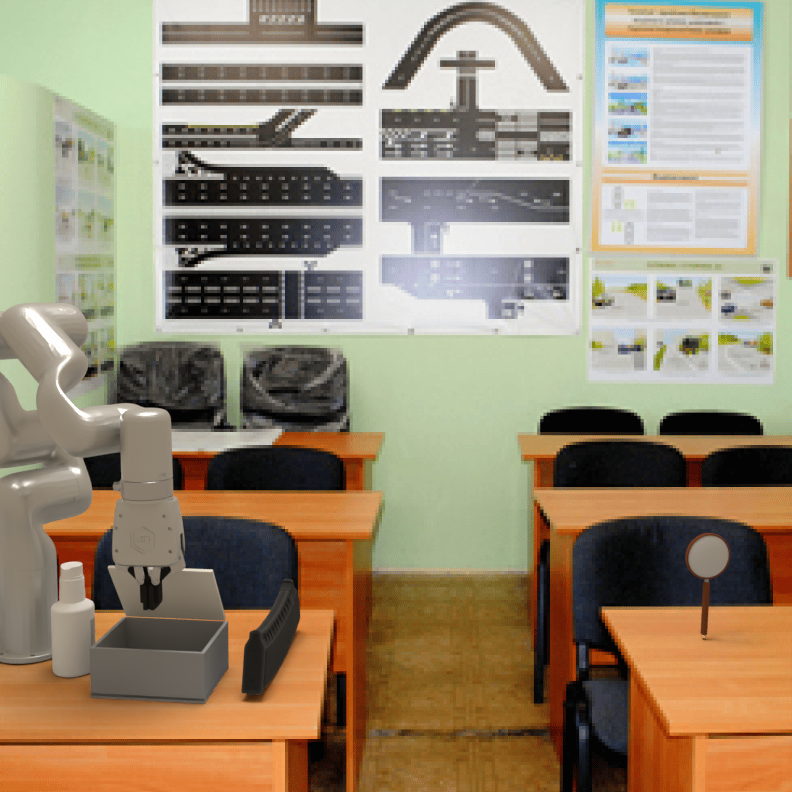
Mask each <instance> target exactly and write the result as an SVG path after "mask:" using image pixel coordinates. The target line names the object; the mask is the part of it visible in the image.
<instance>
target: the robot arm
mask: <svg viewBox="0 0 792 792" xmlns="http://www.w3.org/2000/svg"><path fill="white" fill-rule="evenodd" d="M88 325H89V324H88V322H87V319H86V317H85V315H84V313H83V312H82V311H81V310H80V309H79V308H78V307H76V306H75V305H74V304H70V303H67V302H25V303H18V304H15V305H13V306H10V307H9V308H7V309H6V310H5V311H1V310H0V361H1V360H2V361H4V360H5V361H6V360H18V361H19V362H20V363H21V365H22V366H23V367H24V368H25V369H26V371H28V373H29V374H30V375H31V377H32V378H33V379H34V380H35V381H36V383H38V386H37V390H36V393H35V394H36V395H35V396H36V397H35V405H36V409H32V410H30V409H29V410H26V409H24V407H22V405H21V403H20V401H19V399H18V394H17V392H16V389H15V387H14V386H13V384H12V382H11V381H10V380H9V379H8V378H7V377H6V376H5V374H3V372H1V371H0V469H11V468H17V467H23V466H30V465H36V464H41V465H42V468H33V469H28V470H23V471H17V472H13V473H9V474H6V475H4V476H2V477H0V663H4V664H14V665H15V664H16V665H17V664H18V665H19V664H20V665H22V664H23V665H25V664H32V663H39V662H44V661H47V660H50V659H51V660H52V635H51V607H52V605H53V604H54V603H56V602H57V601H59V600H58V599H59V595H58V594H59V591H58V565H57V563H58V561H57V550H56V546H55V544H54V541H53V540H52V539H51V537H50V535H48V534H47V532H46V531H45V529H44V525H45V524H46V525H47V524H49V523H50V524H51V523H53V522H57V521H61V520H66V519H70V518H73V517H78V516H79V515H82V514H84V513H85V512H86V511H87V510H88V509H89V508H90V507H91V505H92V501H93V487H92V481H91V478H90V474H89V471H88V469H87V466H86V463H85V461H84V459H85V458H91V457H97V456H103V455H109V454H115V453H120V472H121V475H120V476H121V478H120V480H119V481H114V482H113V484H112V489H113V491H114V492H119V493H120V498H119V499H117V500H116V503H115V509H114V516H113V525H112V526H113V527H112V540H111V541H112V545H111V549H112V550H111V553H112V554H111V555H112V560H113V562H114V564H115V565H114V566H115V568H116V569H117V570H120V571H124V572H129V573H130V574H131V575H132V576H133V577H134V578H135V579H136V582H137V584H139V585H140V602H141V603H143V610H148V609H150V610H155V609H156V608H157V607H158V606H159V605H160V603H161V602H162V600H163V593H162V580H163V579H164V578H165V577H166V576H167V575H168V574H169V573H174V572H179V571H182V570H183V569H184V568H186V566H187V565H186V561H185V558H184V556H185V554H186V553H185V552H186V541H185V540H186V539H185V531H184V523H183V517H182V512H181V507H180V503H179V502H180V501H179V498H178V497H177V496H174V478H173V477H174V474H173V472H174V471H173V448H172V447H173V444H172V421H171V420H172V418H171V415H170V413H169V412H168V410H167V409H163V408H159V407H144V406H140V405H139V404H136V403H129V402H123V403H114V404H103V405H95V406H94V405H92V406H86V407H78V406H76V405H75V403H73V401H72V400H71V399H70V398H69V397H68V396H67V395H66V394H67V393H68V392H70V391H71V390H73V389H74V388H75V387H76V386H78V385H79V384H80V383H81V381H82V380H83V379H84V378H85V375H86V374H87V371H88V367H89V362H88V357H87V355H86V354H85V353H84V352H83V350H81V348H82V347H83V346H84V345H85V344H86V342H87V340H88V337H89V326H88ZM149 567H153V572H152V579H151V577H150V572H149Z"/></svg>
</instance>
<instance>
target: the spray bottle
mask: <svg viewBox="0 0 792 792" xmlns="http://www.w3.org/2000/svg"><path fill="white" fill-rule="evenodd" d="M83 565H84V564H83V563H82V562H81V561H68V562H63V563H61V564H60V576H59V580H58V582H59V591H58V594H59V595H58V599H59V600H58V601H57V602H56V603H54V604H53V605H52V607H51V635H52V658H51V662H52V663H51V664H52V672H53V674H54V675H55V676H56V677H60V678H77V677H82V676H85V675H88V674H90V647H92V646H93V645H94V644H95V643H96V620H95V619H96V616H95V615H96V614H95V612H96V611H95V608H96V607H95V603H94V601H93V600H91V599H89V598H87V597H86V588H85V575H84V573H83V572H84V569H83Z"/></svg>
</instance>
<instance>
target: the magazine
mask: <svg viewBox="0 0 792 792" xmlns="http://www.w3.org/2000/svg"><path fill="white" fill-rule="evenodd" d="M278 591H279V592H278V594H277V596H276V598H275V601H274V603H273V605H272V607H271V609H269V612H268V614H267V615H266V617H265V618H264V619H263V621H262V622H261V623H260V625H259V626H257V627H256V629H253V630H250V631H249V635H248V636H249V637H248V640H247V641H246V643H245V645H244V646H243V647H244V649H243V661H242V677H241V691H240V692H241V694H246V696H258V695H262V694H263V693H264V690H265V689H266V688H267V686H268V685H269V684H270V683H271V681H272V680H273V679H275V676H276V675H277V673H278V672H279V670H280V668H281V667H282V664H283V662H284V661H285V659H286V657H287V655H288V652H289V650H290V648H291V644H292V643H293V641H294V637H295V634H296V632H297V629H298V626H299V624H300V620H301V605H300V604H301V603H300V598H299V592H298V589H296V587H295V585H294V580H293V579H291V578H290V579H289V578H284V579H283V580H282V582H281V587H280V588H279V590H278Z"/></svg>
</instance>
